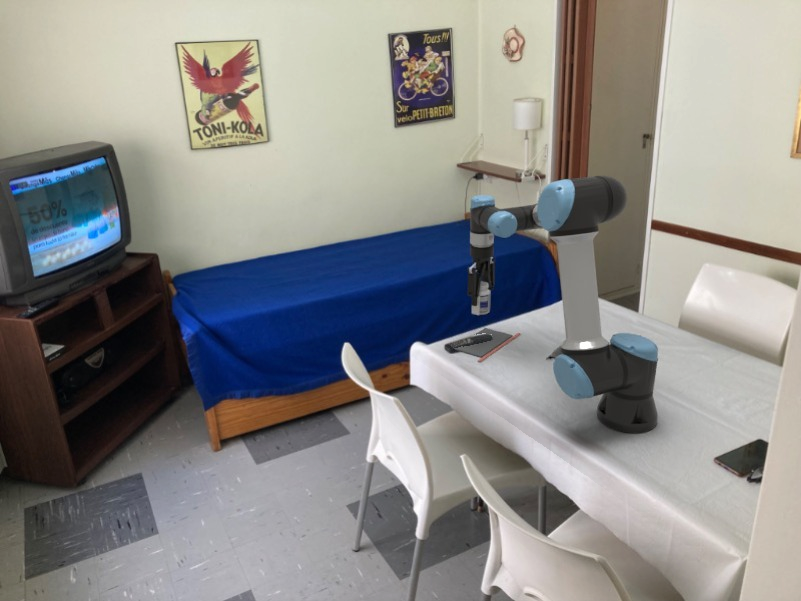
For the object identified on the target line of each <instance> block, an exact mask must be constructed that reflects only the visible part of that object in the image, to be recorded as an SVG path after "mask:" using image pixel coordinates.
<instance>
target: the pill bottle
mask: <svg viewBox="0 0 801 601" xmlns="http://www.w3.org/2000/svg"><path fill="white" fill-rule="evenodd" d="M488 287H489V284H488V283H487V282H483V280H481V284H480V290H479V295H478V296H480V315H487V314H488V313H490V311H491V293H490V291H489V289H488Z"/></svg>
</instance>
